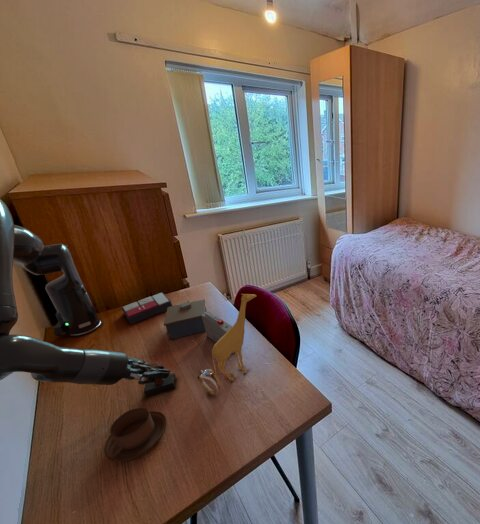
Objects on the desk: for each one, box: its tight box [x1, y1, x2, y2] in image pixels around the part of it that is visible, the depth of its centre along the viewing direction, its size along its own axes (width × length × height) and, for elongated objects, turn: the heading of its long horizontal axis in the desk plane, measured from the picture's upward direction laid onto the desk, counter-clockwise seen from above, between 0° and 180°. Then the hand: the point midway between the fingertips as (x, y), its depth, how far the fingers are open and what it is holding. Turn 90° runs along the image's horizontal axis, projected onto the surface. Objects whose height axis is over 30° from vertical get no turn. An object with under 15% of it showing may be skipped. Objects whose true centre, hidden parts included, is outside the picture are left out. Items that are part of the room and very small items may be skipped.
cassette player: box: [201, 310, 235, 355], centre depth 97 cm, size 16×3×10 cm, turn 53°
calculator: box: [121, 292, 173, 325], centre depth 116 cm, size 11×4×15 cm
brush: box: [143, 362, 177, 399], centre depth 79 cm, size 4×7×8 cm, turn 115°
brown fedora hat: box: [103, 407, 167, 463], centre depth 66 cm, size 12×12×6 cm
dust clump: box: [179, 300, 191, 310], centre depth 107 cm, size 3×3×1 cm
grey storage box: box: [163, 299, 208, 340], centre depth 106 cm, size 13×12×7 cm
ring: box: [196, 368, 221, 396], centre depth 78 cm, size 7×3×8 cm, turn 60°
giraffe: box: [211, 293, 257, 382], centre depth 82 cm, size 16×4×25 cm, turn 141°
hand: (164, 371), depth 81 cm, fingers closed
